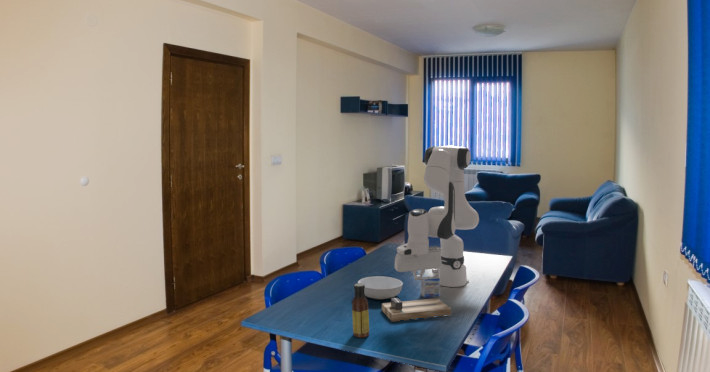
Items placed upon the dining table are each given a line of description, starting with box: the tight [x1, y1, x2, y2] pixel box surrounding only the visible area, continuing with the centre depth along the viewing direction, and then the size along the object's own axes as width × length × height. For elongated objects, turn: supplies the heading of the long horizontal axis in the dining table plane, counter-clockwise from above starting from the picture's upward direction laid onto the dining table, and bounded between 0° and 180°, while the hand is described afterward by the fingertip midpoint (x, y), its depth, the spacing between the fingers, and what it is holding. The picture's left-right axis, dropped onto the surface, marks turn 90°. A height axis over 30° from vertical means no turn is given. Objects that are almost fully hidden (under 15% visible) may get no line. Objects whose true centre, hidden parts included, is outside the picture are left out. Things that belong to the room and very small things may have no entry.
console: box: [381, 298, 452, 323], centre depth 220 cm, size 14×26×3 cm, turn 105°
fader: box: [390, 297, 402, 310], centre depth 218 cm, size 6×3×3 cm, turn 15°
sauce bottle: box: [351, 282, 370, 338], centre depth 196 cm, size 7×6×20 cm
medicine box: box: [420, 276, 441, 298], centre depth 243 cm, size 8×4×9 cm, turn 105°
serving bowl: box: [357, 275, 404, 300], centre depth 242 cm, size 21×21×7 cm
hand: (418, 279), depth 220 cm, fingers closed
